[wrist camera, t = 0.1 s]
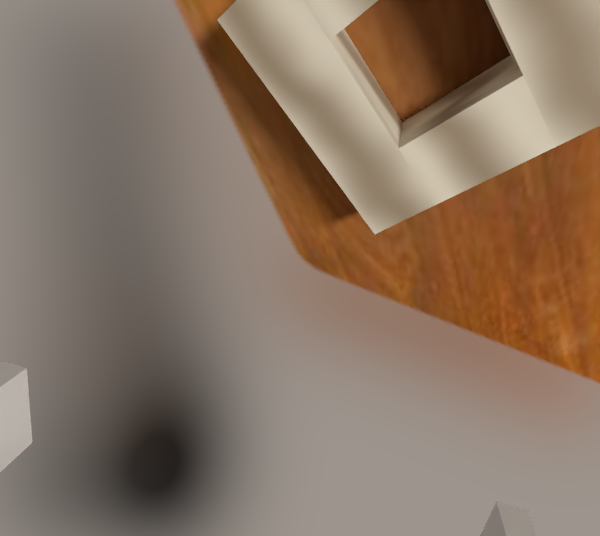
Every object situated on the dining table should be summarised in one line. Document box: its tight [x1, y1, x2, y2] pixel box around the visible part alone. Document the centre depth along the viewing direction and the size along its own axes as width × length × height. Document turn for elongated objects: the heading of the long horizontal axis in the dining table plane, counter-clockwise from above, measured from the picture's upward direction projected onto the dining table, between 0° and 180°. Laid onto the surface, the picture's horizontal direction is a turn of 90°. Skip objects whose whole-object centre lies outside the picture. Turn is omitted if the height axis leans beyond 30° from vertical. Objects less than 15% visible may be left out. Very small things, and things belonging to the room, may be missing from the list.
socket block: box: [217, 0, 600, 234], centre depth 27 cm, size 18×18×5 cm
